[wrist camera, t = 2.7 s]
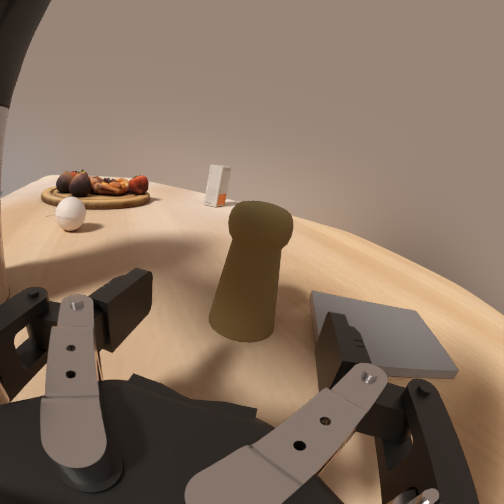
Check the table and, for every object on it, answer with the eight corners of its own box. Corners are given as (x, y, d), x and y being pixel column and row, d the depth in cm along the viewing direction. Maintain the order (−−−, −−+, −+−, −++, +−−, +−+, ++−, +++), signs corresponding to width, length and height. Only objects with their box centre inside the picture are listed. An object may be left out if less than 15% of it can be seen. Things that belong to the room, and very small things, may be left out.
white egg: (79, 224, 42) (81, 193, 40) (89, 232, 39) (91, 198, 37) (42, 229, 36) (42, 196, 34) (48, 238, 33) (47, 202, 31)
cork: (236, 299, 29) (256, 195, 26) (285, 325, 26) (314, 212, 22) (194, 317, 24) (211, 194, 21) (246, 351, 21) (277, 214, 18)
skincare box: (216, 207, 78) (223, 166, 74) (203, 204, 79) (209, 164, 75) (225, 205, 83) (232, 167, 80) (213, 203, 85) (219, 165, 81)
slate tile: (318, 367, 20) (322, 358, 20) (309, 297, 33) (311, 290, 32) (454, 378, 19) (458, 370, 19) (413, 317, 32) (415, 310, 31)
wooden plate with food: (162, 197, 82) (166, 171, 79) (121, 218, 52) (125, 178, 49) (79, 187, 79) (81, 163, 76) (19, 203, 49) (20, 170, 46)
